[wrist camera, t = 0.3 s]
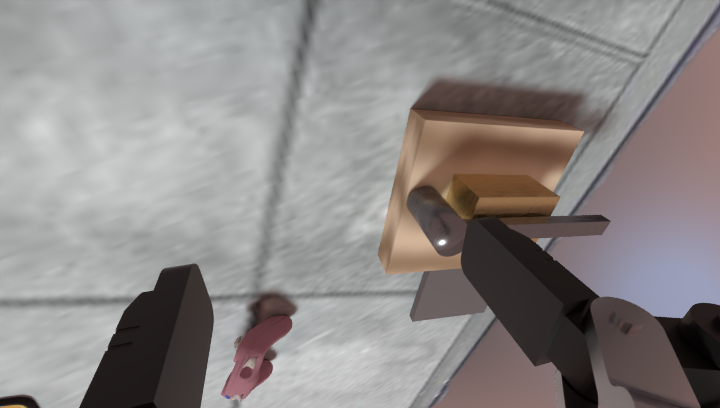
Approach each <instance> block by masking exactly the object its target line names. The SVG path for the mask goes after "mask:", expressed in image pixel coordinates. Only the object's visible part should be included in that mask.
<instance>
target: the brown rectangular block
mask: <svg viewBox="0 0 720 408" xmlns="http://www.w3.org/2000/svg"><path fill="white" fill-rule="evenodd" d="M559 199H560V196H558V195H557V194H555V193H554V192H552V191H551V190H549V189H548V188H546V187H545V186H544V185H542V184H541V183H539V182H538V181H536V180H535V179H533V178H532V177H530V176H529V175H489V174H454V176H453V179H452V182H451V185H450V188H449V191H448V194H447V197H446V201H447V202H448V203H449V205H450V206H451V207H452V208H453V209H454V210H455V211H456V212H457V214H458V215H459V216H460V217H461V218H462V219H479V218H485V217H492V216H494V217H497V218H514V217H547V216H551V214H552V212H553V210H554V208H555V206H556V204H557V203H558V201H559ZM537 239H538V238H532V239H531V240H533V241H534V242H535V243H536V241H537Z"/></svg>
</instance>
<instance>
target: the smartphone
mask: <svg viewBox="0 0 720 408" xmlns="http://www.w3.org/2000/svg"><path fill="white" fill-rule="evenodd" d="M0 408H38V406H37V405H36V403H35V402H34V401H33V400H32V399H30V398H26V397H16V398H9V399H1V400H0Z"/></svg>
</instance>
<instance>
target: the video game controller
mask: <svg viewBox="0 0 720 408" xmlns="http://www.w3.org/2000/svg"><path fill="white" fill-rule="evenodd" d="M291 328H292V320H291V319H290V317H288V316H285V315H277V316H273V317H270V318H268V319H266V320H264V321H263V322H261V323H259V324H258V325H257V326H255V327H254V328H252V329H250V330H249V331H248V333H247V334H246V336H245V337H244V338H242V339H241V336H240V337H238V338H237V339H236V341H235V343H234V348H236V346H237V345H238V346H237V352H236V355H235V357H234V362H236V364H235V366H234V369H233V371H232V372H231V373H230V375H229V377H228V379H227V381H226V384H225V386H224V388H223V390H222V393H221V395H222V396H224V397H225V398H227V399H229V398H230V399H231V400H235V399H238V400H239V401H240V402H241V399H244V398H246V397H247V396H248V394H249V393H250V392H251V391H252V390H253V389H254V388H255V387H257V386H258V385H259V384H261V383H262V382H264V381H265V380H266V379H267V378H268V377H269V376H270V374H271V373H272V370H273V365H272V363H271V362H270V361H268V360H263V359H264V356H265V353H266V352H267V350H268V349H269V348H270V347H271V346H272V345H273V344H274V343H275V342H276V341H278V340H279V339H281V338H282V337H283V336H285V335H286V334H287V333H288V332H289V331H290V329H291ZM240 339H241V340H240Z"/></svg>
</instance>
